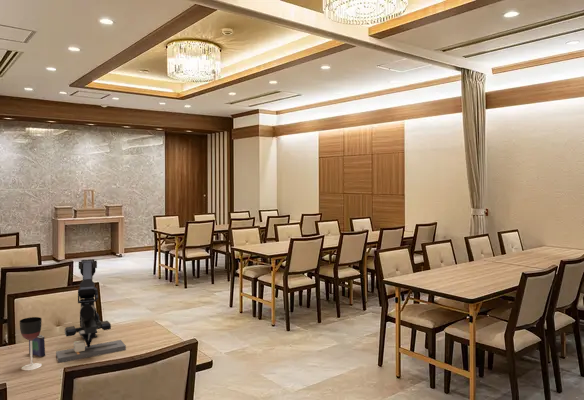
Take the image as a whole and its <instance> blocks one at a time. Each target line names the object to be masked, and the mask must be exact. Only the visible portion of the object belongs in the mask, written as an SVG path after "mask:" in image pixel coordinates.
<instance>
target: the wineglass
mask: <svg viewBox="0 0 584 400" xmlns="http://www.w3.org/2000/svg"><path fill="white" fill-rule="evenodd" d="M42 323H43V322H42V317H38V316H32V317H26V318H22V319H20V320H19V331H20V334H21V337H22V338H23V339H25V340H27V341H29V340H30V355H29V356H30V364H26V365H23V366H22V367H21V370H22V371H33V370H37V369H39V368H41V367H42V366H43V365H42V363H41V362H40V363H38V362H36V363H34V362H33V359H34V357H33V355H32V340H33V339H35V338H36V337H38V336H39V334H40V335H41V329H42Z"/></svg>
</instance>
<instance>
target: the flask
mask: <svg viewBox="0 0 584 400" xmlns="http://www.w3.org/2000/svg"><path fill="white" fill-rule="evenodd" d="M28 355H29V356H30V340H28ZM32 356H34V357H38V358H44V357H46V344H45V336H44V335H42V334H41V333H40V334H39V336H38V337H36V338H35V339H33V340H32Z"/></svg>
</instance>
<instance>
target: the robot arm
mask: <svg viewBox="0 0 584 400" xmlns="http://www.w3.org/2000/svg"><path fill="white" fill-rule="evenodd" d="M97 268H98V260H95V258H92V259H91V258H90V259H80V261H78V270H80V271H79V273H80V275H81V276H82V281H81V282H80V283H79V288H78V289H77V304H80V309H79V327H75V326H74V325H73V326H66V327H65V328H64V335H65V337H72V336H75V335H76V334H77V333H78V334H79V336H81V338H82V340H84V342H85V345H86V346H87V347H90V345H92V344H91V343H92V341H93V339H94V338H95V339H96V338H98V335H97V334H98V330H100V329H102V330H103V331H108V330H111V329H112V325H111V322H109V321H108V320H104V321H103V320H102V321H101V320H100V314H99V313H98V312H97V308H96V306H95V303H96V302H97V300H98V299H99V293H98V292H99V290H98V288H97V287H95V284H96V283H95V282H94V281H93V277H94V275H95V273H96V270H97Z"/></svg>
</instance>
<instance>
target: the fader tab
mask: <svg viewBox="0 0 584 400" xmlns="http://www.w3.org/2000/svg"><path fill="white" fill-rule="evenodd" d="M85 346H86V342H85V339H81V340H77V341H73V348H74V351H75V352H81V351H85Z"/></svg>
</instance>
